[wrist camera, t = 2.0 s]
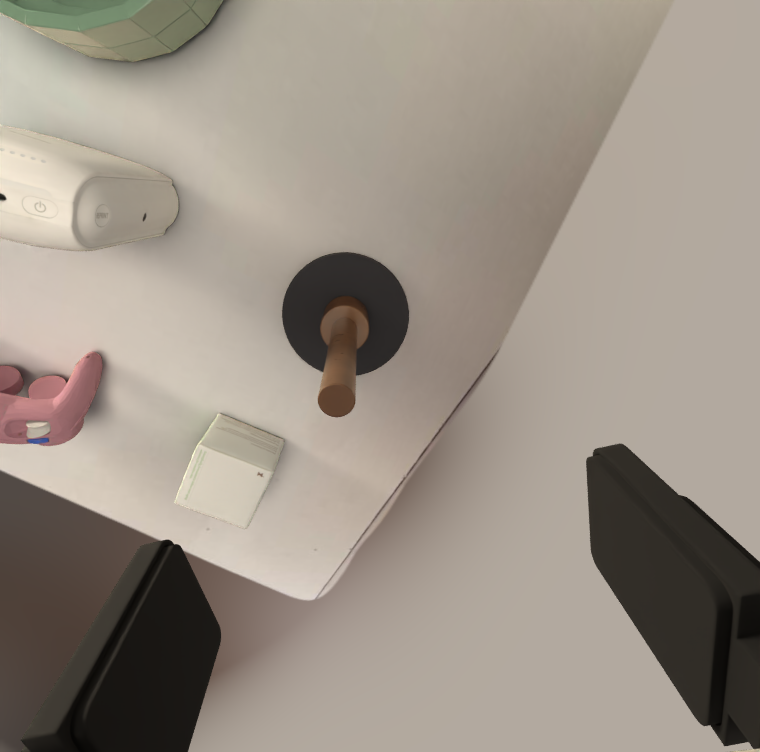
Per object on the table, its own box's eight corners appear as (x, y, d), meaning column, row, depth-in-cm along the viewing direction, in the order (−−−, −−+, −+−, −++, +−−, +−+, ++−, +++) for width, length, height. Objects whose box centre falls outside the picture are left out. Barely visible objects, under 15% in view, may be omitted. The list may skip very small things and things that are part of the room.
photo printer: (186, 175, 29) (73, 163, 18) (176, 242, 31) (66, 271, 19) (13, 120, 28) (-235, 68, 16) (11, 193, 29) (-216, 193, 18)
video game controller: (-19, 359, 34) (-90, 436, 30) (-45, 315, 31) (-130, 393, 26) (117, 388, 36) (70, 465, 31) (106, 348, 32) (51, 428, 28)
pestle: (362, 291, 32) (364, 358, 19) (372, 334, 33) (381, 425, 20) (318, 301, 32) (289, 375, 19) (329, 343, 33) (310, 440, 20)
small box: (217, 410, 35) (196, 442, 31) (287, 438, 36) (276, 473, 32) (194, 467, 37) (170, 505, 32) (260, 492, 38) (247, 532, 34)
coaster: (394, 238, 31) (394, 239, 31) (418, 360, 34) (419, 362, 34) (266, 268, 31) (265, 269, 31) (303, 385, 35) (302, 387, 34)
